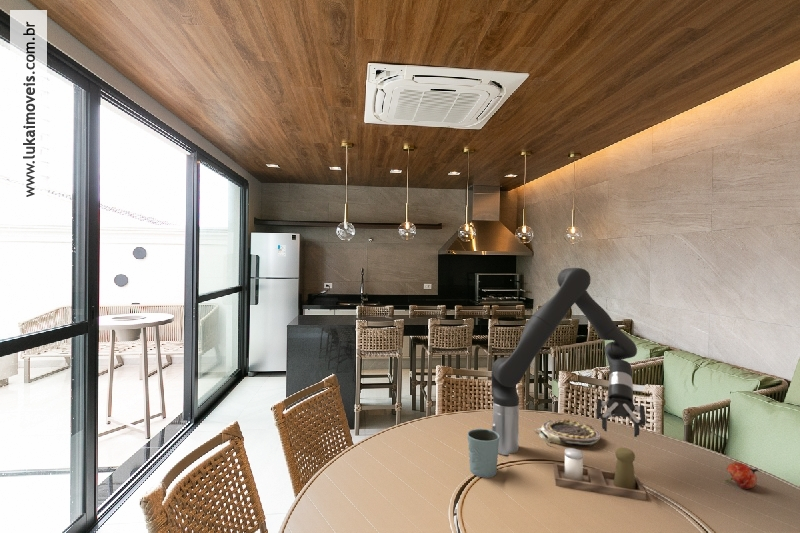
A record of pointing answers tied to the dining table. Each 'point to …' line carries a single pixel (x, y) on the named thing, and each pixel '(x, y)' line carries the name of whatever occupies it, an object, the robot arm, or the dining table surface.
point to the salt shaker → (573, 464)
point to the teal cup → (483, 452)
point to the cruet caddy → (597, 482)
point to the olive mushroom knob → (625, 469)
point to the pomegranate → (742, 475)
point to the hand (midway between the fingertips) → (620, 433)
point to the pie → (569, 433)
